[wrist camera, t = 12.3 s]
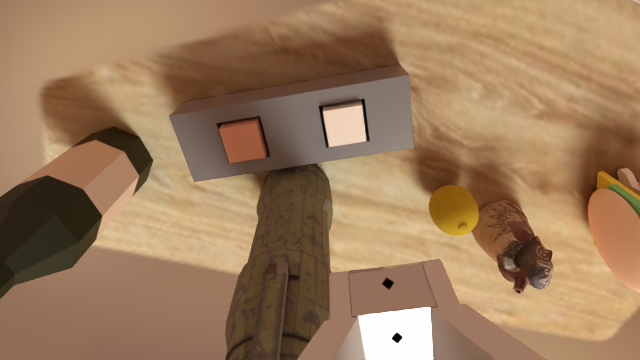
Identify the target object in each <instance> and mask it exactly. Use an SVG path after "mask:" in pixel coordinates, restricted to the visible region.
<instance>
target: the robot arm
mask: <svg viewBox="0 0 640 360" xmlns="http://www.w3.org/2000/svg"><path fill="white" fill-rule="evenodd" d="M634 1H635V2H637V3H639V4H640V0H634ZM329 291H330V320H326V321H324V322H323V324H322V325H321V327H320V328H319V329H318V331H317V332H316V334H315V335H314V336H313V338H312V339H311V341H310V342H309V343H308V345H307V346H306V348H305V349H304V351H303V352H302V353H301V355H300V356H299V358H298V359H297V360H428V359H433V360H546V359H545V358H543V357H542V356H540V355H539V354H537V353H536V352H535V351H533V350H531V349H530V348H529V347H527V346H526V345H524V344H523V343H522V342H520V341H519V340H517V339H516V338H514V337H513V336H511V335H510V334H508V333H507V332H506V331H504V330H503V329H501V328H500V327H498V326H497V325H495V324H494V323H493V322H491V321H490V320H488V319H487V318H485V317H484V316H482V315H481V314H480V313H478V312H477V311H475V310H474V309H472V308H471V307H469V306H468V305H466V304H462V305H460V304H459V301H458V299H457V296H456V294H455V292H454V289H453V287H452V285H451V282H450V280H449V278H448V275H447V273H446V270H445V268H444V266H443V263H442V261H441V260H440V259H436V260H429V261H422V262H417V263H409V264H402V265H395V266H387V267H380V268H370V269H360V270H351V271H349V272H348V271H345V272H335V273H330V276H329Z"/></svg>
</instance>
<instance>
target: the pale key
mask: <svg viewBox="0 0 640 360" xmlns="http://www.w3.org/2000/svg"><path fill="white" fill-rule="evenodd" d="M323 115H324V121H325V126H326V132H327V138H328V143H329V147H334V146H340V145H346V144H353V143H359V142H365V141H366V133H365V125H364V117H363V109H362V103H361V100H360V99H358V100H352V101H346V102H340V103H334V104H328V105H323Z"/></svg>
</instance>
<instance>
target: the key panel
mask: <svg viewBox="0 0 640 360" xmlns="http://www.w3.org/2000/svg"><path fill="white" fill-rule="evenodd" d="M358 99H360V100H361V103H362V109H363V117H364V125H365V133H366V141H365V142H359V143H353V144H346V145H340V146H334V147H329V143H328V138H327V132H326V126H325V121H324V115H323V105H328V104H334V103H340V102H346V101H352V100H358ZM256 116H260V118H261V121H262V125H263V129H264V133H265V137H266V141H267V144H268V151H267V154H266V157H265V158H260V159H253V160H247V161H241V162H234V163H229V160H228V157H227V153H226V150H225V147H224V144H223V141H222V138H221V135H220V132H219V128H220V127H221V125H222V124H223V122H227V121H233V120H238V119H244V118H250V117H256ZM169 117H170V120H171V122H172V125H173V127H174V130H175V133H176V135H177V138H178V141H179V143H180V146H181V149H182V151H183V154H184V156H185V159H186V162H187V164H188V167H189V170H190V172H191V175H192V177H193V180H194V182H197V181H204V180H210V179H217V178H223V177H229V176H236V175H242V174H249V173H255V172H262V171H268V170H275V169H281V168H288V167H294V166H301V165H307V164H314V163H320V162H327V161H333V160H339V159H346V158H352V157H359V156H365V155H372V154H378V153H385V152H391V151H398V150H404V149H411V148H414V147H413V131H412V114H411V98H410V82H409V74H408V73H407V72H406V71H405V70H404V68H403V67H402V66H401V65H400V64H399V65H393V66H387V67H382V68H376V69H370V70H364V71H359V72H353V73H347V74H342V75H336V76H330V77H324V78H319V79H313V80H307V81H301V82H296V83H290V84H284V85H278V86H273V87H267V88H261V89H255V90H250V91H244V92H238V93H232V94H227V95H221V96H215V97H210V98H204V99H198V100H192V101H187V102H184V103H183V104H182V105H181V106H179V107H178V108H177V109H176V110H175V111H174V112H173V113H172V114H171V115H170V116H169Z"/></svg>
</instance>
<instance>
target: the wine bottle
mask: <svg viewBox="0 0 640 360" xmlns="http://www.w3.org/2000/svg"><path fill="white" fill-rule="evenodd" d="M152 163H153V159H152V157H151V156H150V154H149V152H148V151H147V149H146V147H145V146H144V144H143V142H142V140H141V139H140V138H139V137H137V136H134V135H132V134H130V133H127V132H125V131H123V130H120V129H118V128H116V127H111V128H108V129H105V130H102V131H99V132H96V133H93V134H90V135H89V136H88V137H86V138H85V139H83V140H82V141H80V142H79V143H77V144H76V145H75V146H73V147H72V148H70V149H69V150H67V151H66V152H64V153H63V154H62V155H60V156H59V157H57V158H56V159H54V160H53V161H52V162H50V163H49V164H47V165H46V166H44V167H43V168H41V169H40V170H39V171H37V172H36V173H34V174H33V175H31V176H30V177H28V178H27V179H26V180H24V181H23V182H21V183H20V184H19V185H17V186H15V187H14V188H13V189H11V190H10V191H8V192H7V193H5V194H4V195H3V196H1V197H0V299H1V298H2V297H3V296H4V295H5V294H6V293H7V292H8V291H9V290H10V289H11V288H12V287H13V286H14V285H17V284H20V283H23V282H27V281H30V280H33V279H36V278H40V277H43V276H46V275H50V274H53V273H56V272H59V271H63V270H66V269H70V268H72V267H73V266H74V265H75V264H76V262H77V261H78V260H79V259H80V258H81V257H82V255H83V254H84V253H85V252H86V251H87V249H88V248H89V247H90V246H91V245H92V244H93V242H94V241H95V240H96V239H97V238H98V237H99V235H100V234H101V233H102V232H103V231H104V230H105V228H106V227H107V226H108V225H109V224H110V223H111V221H112V220H113V219H114V218H115V217H116V215H117V214H118V213H119V212H120V211H121V210H122V208H123V207H124V206H125V205H126V204H127V203H128V201H129V200H130V199H131V198H132V197H133V196H134V194H135V193H136V192H137V191H138V190H139V188H140V187H141V186H142V185H143V184H144V183H145V181H146V180H147V178H148V175H149V172H150V169H151V166H152Z"/></svg>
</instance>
